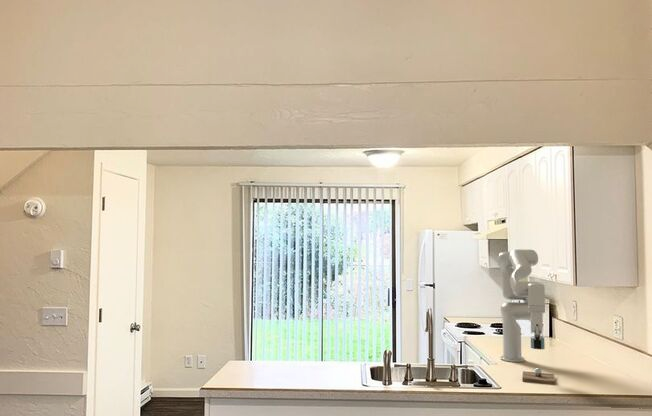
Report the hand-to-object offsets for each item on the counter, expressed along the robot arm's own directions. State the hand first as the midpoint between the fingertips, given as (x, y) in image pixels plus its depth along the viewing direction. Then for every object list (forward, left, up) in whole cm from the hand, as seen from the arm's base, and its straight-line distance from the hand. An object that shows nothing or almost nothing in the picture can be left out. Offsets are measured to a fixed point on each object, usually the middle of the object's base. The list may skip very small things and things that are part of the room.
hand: (537, 346), depth 243 cm
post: (0, 0, -14) cm, 14 cm away
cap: (0, 0, -1) cm, 1 cm away
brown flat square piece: (0, 0, -15) cm, 15 cm away
